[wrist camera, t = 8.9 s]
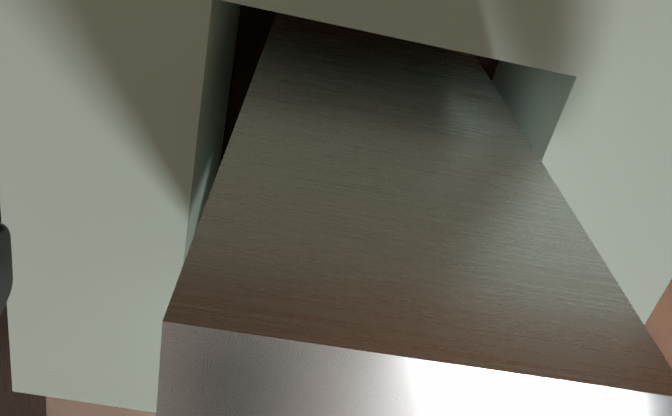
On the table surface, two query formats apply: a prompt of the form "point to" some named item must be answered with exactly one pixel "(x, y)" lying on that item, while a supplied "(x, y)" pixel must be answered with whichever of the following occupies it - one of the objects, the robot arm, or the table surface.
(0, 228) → the robot arm
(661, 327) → the table surface
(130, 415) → the table surface
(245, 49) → the table surface
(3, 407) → the mount
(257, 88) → the pin
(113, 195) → the dock
